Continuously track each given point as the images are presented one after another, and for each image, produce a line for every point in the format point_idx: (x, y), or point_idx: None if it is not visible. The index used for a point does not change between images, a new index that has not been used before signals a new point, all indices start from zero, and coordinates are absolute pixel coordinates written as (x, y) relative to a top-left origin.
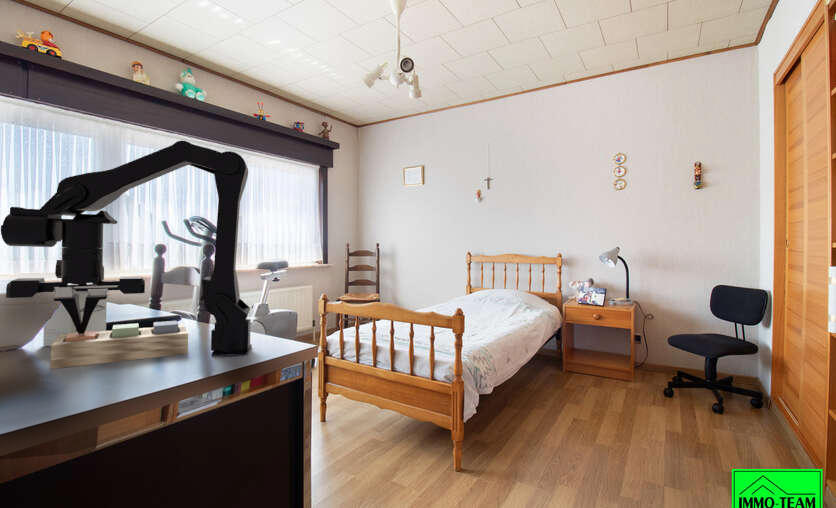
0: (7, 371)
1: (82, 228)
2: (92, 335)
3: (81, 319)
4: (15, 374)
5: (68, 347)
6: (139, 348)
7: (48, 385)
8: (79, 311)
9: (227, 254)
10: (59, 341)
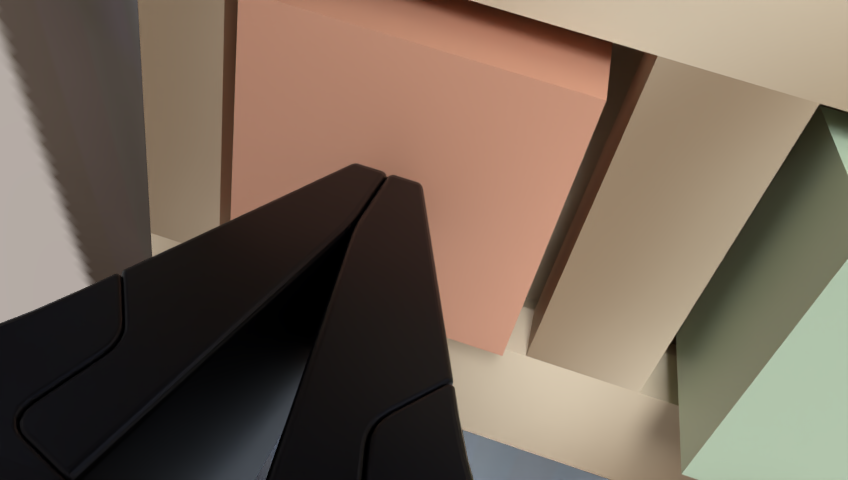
0: (6, 49)
1: None
2: (483, 334)
3: (303, 279)
4: (81, 168)
5: None
6: None
7: (271, 458)
8: (187, 478)
9: None
10: (195, 221)
